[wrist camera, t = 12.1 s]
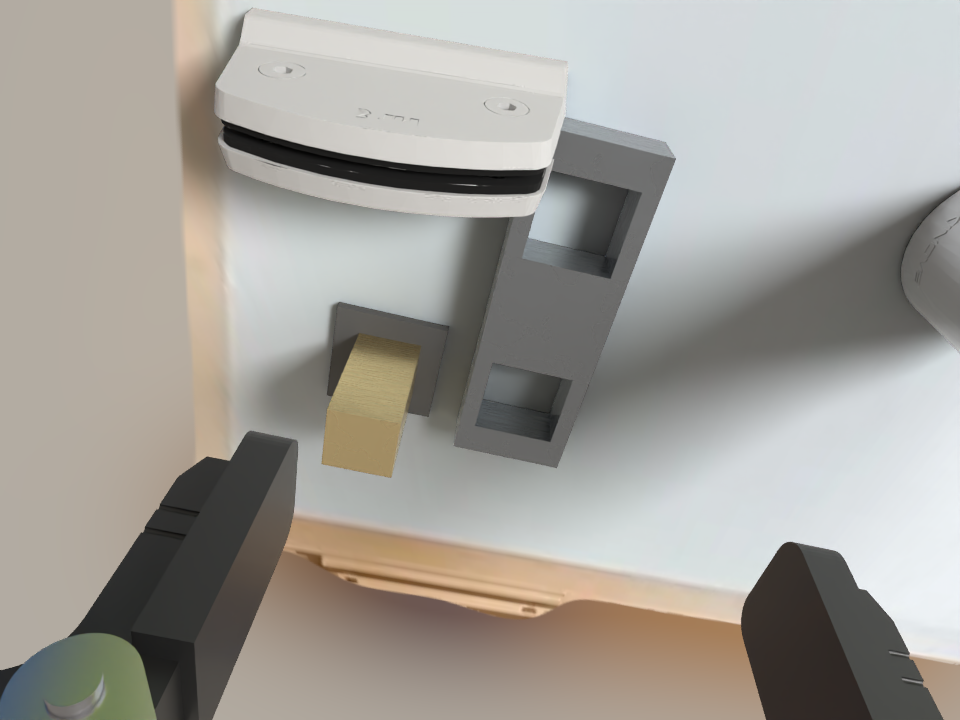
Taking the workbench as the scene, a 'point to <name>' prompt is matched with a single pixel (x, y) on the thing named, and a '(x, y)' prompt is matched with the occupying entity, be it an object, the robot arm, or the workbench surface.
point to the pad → (393, 328)
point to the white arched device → (390, 117)
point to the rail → (560, 298)
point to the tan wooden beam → (370, 406)
